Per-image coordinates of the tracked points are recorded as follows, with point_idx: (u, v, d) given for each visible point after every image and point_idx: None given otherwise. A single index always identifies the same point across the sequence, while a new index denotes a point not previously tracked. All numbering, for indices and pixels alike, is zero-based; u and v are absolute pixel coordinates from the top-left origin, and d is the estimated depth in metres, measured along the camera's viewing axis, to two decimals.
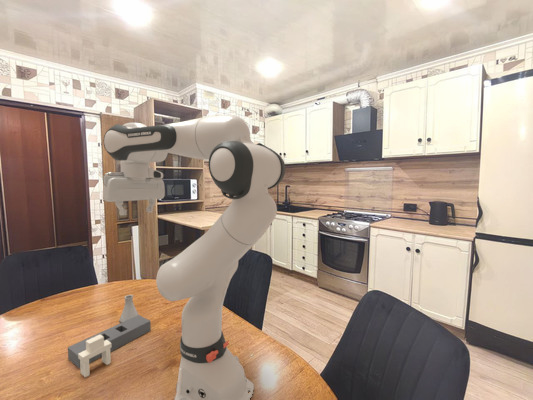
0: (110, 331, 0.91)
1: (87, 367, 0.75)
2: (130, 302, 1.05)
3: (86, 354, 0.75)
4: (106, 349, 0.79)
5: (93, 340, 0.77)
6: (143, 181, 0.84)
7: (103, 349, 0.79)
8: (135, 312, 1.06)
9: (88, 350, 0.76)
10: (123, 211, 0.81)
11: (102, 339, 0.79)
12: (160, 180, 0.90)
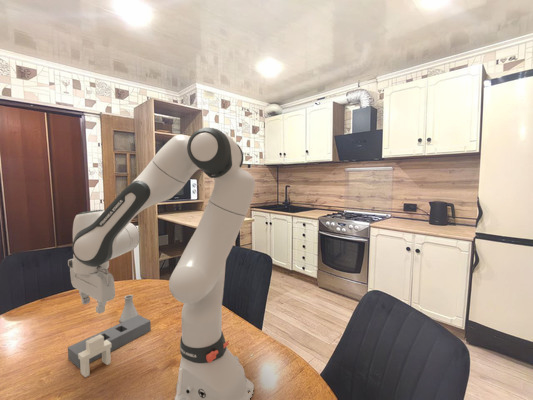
0: (110, 331, 0.91)
1: (87, 367, 0.75)
2: (130, 302, 1.05)
3: (86, 354, 0.75)
4: (106, 349, 0.79)
5: (93, 340, 0.77)
6: None
7: (103, 349, 0.79)
8: (135, 312, 1.06)
9: (88, 350, 0.76)
10: None
11: (102, 339, 0.79)
12: None
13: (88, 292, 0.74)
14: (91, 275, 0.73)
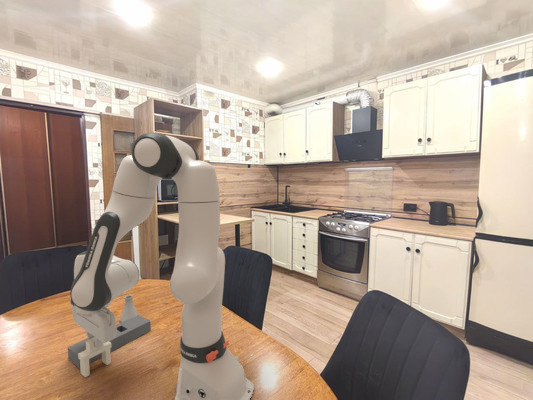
0: None
1: (87, 367, 0.75)
2: (130, 302, 1.05)
3: (86, 354, 0.75)
4: (106, 349, 0.79)
5: (93, 340, 0.77)
6: None
7: (103, 349, 0.79)
8: (135, 312, 1.06)
9: (88, 350, 0.76)
10: None
11: None
12: None
13: (90, 331, 0.75)
14: (93, 314, 0.74)
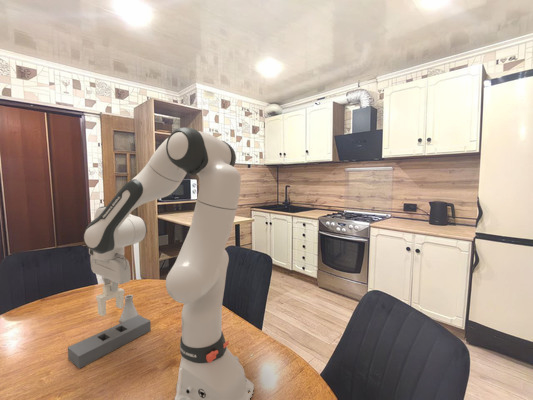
0: (110, 331, 0.91)
1: (104, 307, 0.86)
2: (130, 302, 1.05)
3: (103, 296, 0.86)
4: (120, 294, 0.90)
5: (109, 285, 0.88)
6: None
7: (117, 294, 0.90)
8: (135, 312, 1.06)
9: (105, 293, 0.87)
10: None
11: None
12: None
13: (107, 276, 0.86)
14: (110, 261, 0.85)
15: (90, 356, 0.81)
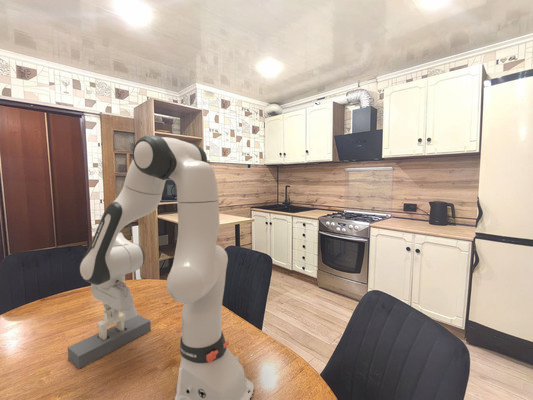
0: (110, 331, 0.91)
1: (105, 334, 0.87)
2: None
3: (104, 323, 0.87)
4: (121, 320, 0.91)
5: (110, 311, 0.89)
6: None
7: (118, 320, 0.90)
8: (135, 312, 1.06)
9: (106, 319, 0.88)
10: None
11: None
12: None
13: (108, 302, 0.87)
14: (111, 288, 0.85)
15: (90, 356, 0.81)
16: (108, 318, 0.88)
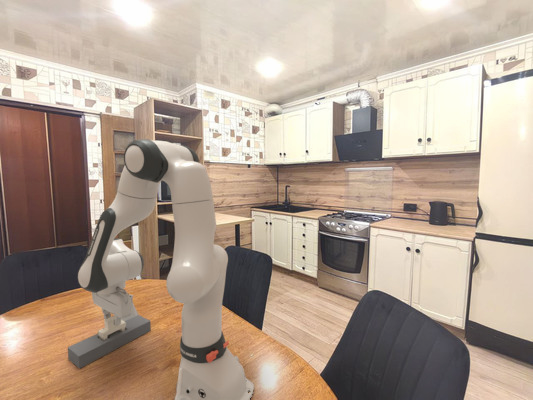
0: None
1: None
2: None
3: (105, 331, 0.87)
4: (121, 327, 0.91)
5: (110, 319, 0.89)
6: None
7: (119, 327, 0.90)
8: (135, 312, 1.06)
9: (106, 327, 0.88)
10: None
11: None
12: None
13: (108, 309, 0.87)
14: (111, 295, 0.85)
15: (90, 356, 0.81)
16: (109, 326, 0.88)
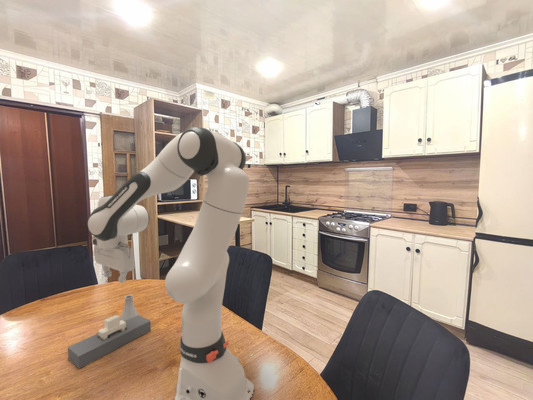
0: None
1: None
2: (130, 302, 1.05)
3: (105, 331, 0.87)
4: (121, 327, 0.91)
5: (110, 319, 0.89)
6: None
7: (119, 327, 0.90)
8: (135, 312, 1.06)
9: (106, 327, 0.88)
10: None
11: (118, 319, 0.90)
12: None
13: (111, 265, 0.87)
14: (114, 250, 0.85)
15: (90, 356, 0.81)
16: (109, 326, 0.88)
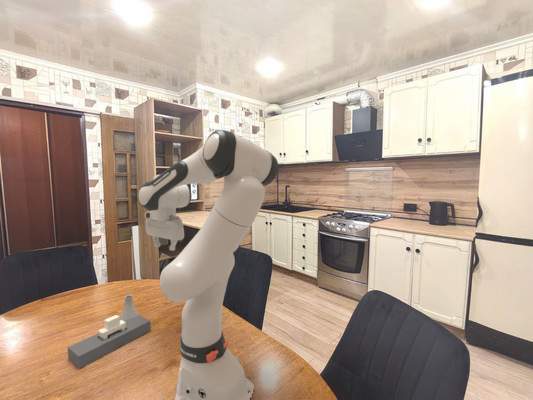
0: None
1: None
2: (130, 302, 1.05)
3: (105, 331, 0.87)
4: (121, 327, 0.91)
5: (110, 319, 0.89)
6: None
7: (119, 327, 0.90)
8: (135, 312, 1.06)
9: (106, 327, 0.88)
10: None
11: (118, 319, 0.90)
12: None
13: (163, 235, 0.99)
14: (166, 221, 0.98)
15: (90, 356, 0.81)
16: (109, 326, 0.88)
